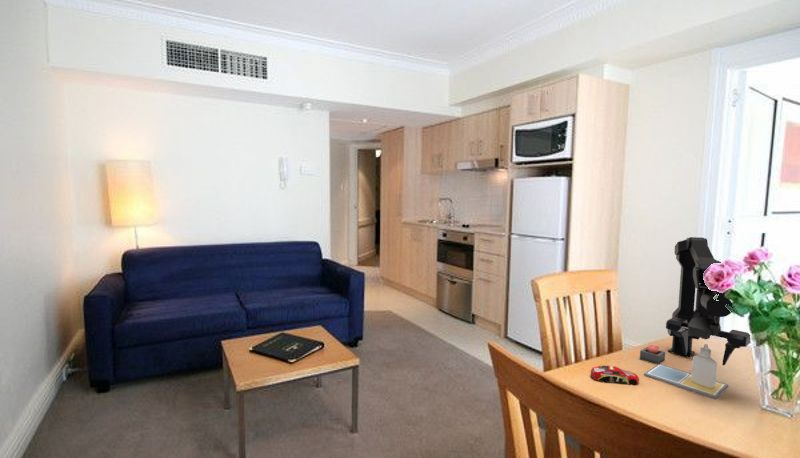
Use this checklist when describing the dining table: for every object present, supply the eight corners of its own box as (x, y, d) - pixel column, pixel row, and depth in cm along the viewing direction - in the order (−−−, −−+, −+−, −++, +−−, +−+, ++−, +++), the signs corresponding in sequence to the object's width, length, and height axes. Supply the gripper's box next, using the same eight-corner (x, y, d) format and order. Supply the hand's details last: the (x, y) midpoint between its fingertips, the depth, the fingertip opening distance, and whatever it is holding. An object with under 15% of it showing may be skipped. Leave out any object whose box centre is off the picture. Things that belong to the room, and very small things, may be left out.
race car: (635, 378, 122) (636, 366, 121) (641, 387, 116) (642, 374, 116) (588, 374, 124) (589, 361, 124) (593, 382, 119) (594, 369, 119)
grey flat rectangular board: (658, 365, 130) (658, 363, 130) (727, 386, 116) (728, 384, 116) (643, 375, 123) (643, 373, 123) (715, 399, 109) (715, 396, 109)
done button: (649, 349, 136) (649, 344, 136) (659, 352, 134) (660, 347, 134) (645, 352, 134) (645, 346, 134) (656, 355, 132) (656, 349, 132)
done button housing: (646, 355, 138) (646, 346, 138) (664, 360, 134) (665, 351, 134) (639, 359, 135) (640, 350, 135) (658, 364, 130) (658, 356, 130)
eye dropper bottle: (703, 379, 119) (707, 341, 117) (717, 389, 113) (721, 348, 112) (688, 379, 119) (691, 340, 118) (701, 388, 113) (705, 348, 112)
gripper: (660, 304, 116) (657, 356, 118) (742, 320, 102) (737, 379, 103) (674, 298, 123) (671, 347, 124) (753, 313, 108) (748, 367, 110)
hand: (704, 359), depth 115 cm, fingers open, 9 cm apart
